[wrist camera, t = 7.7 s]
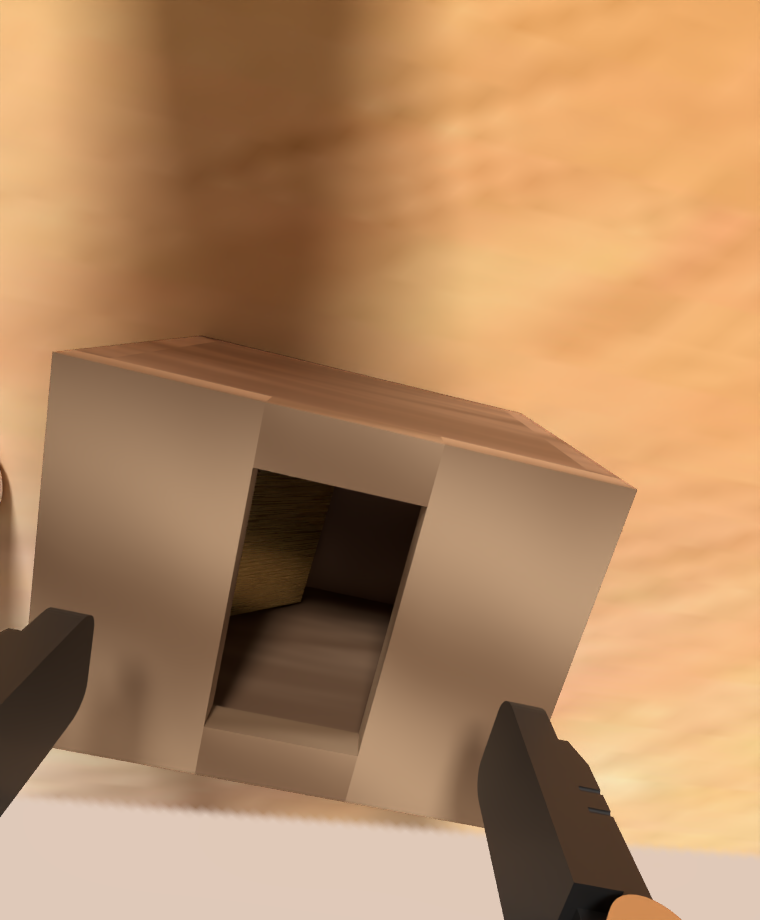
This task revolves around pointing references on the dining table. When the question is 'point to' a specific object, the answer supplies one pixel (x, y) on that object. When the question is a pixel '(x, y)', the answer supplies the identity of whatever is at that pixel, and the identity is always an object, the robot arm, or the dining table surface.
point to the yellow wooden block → (279, 541)
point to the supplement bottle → (0, 486)
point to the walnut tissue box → (312, 570)
